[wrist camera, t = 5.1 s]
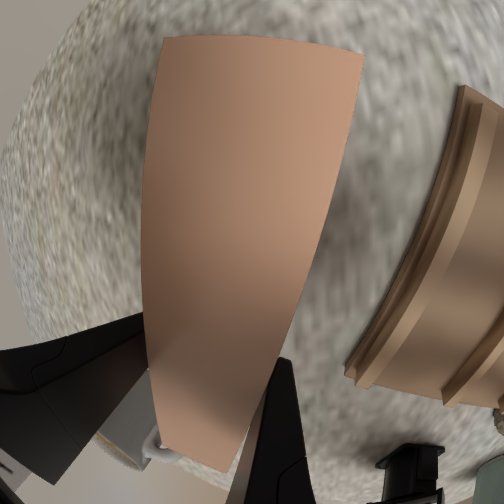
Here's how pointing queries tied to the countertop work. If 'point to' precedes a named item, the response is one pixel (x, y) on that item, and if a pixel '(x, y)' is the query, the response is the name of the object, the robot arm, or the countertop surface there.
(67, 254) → the countertop surface
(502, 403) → the rack rail
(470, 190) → the rack rail
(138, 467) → the coffee mug
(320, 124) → the clay strip
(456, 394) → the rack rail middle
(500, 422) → the brown rock
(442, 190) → the rack
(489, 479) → the disposable coffee cup
